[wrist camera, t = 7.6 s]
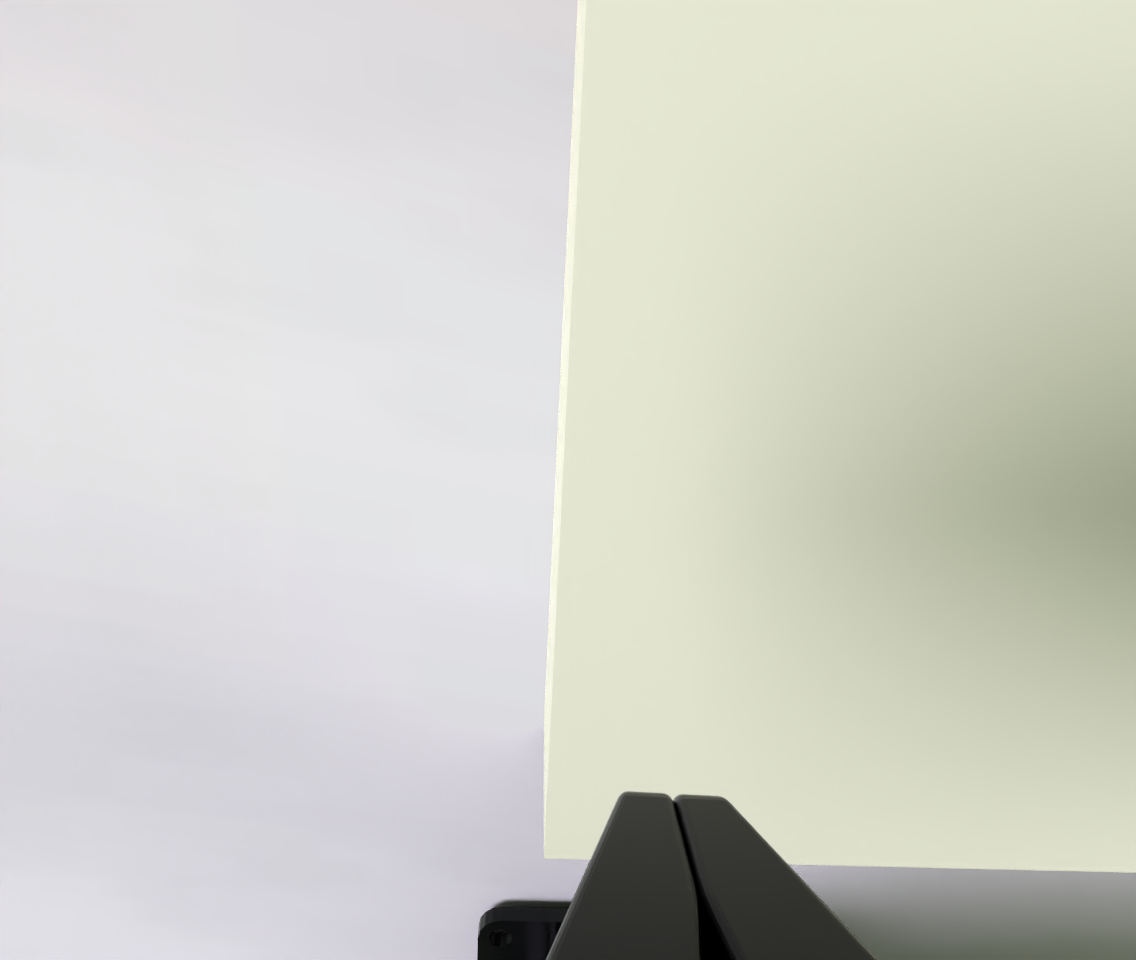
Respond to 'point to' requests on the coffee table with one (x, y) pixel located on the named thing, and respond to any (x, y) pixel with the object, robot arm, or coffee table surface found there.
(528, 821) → the coffee table surface
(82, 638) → the coffee table surface
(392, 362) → the coffee table surface
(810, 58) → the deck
